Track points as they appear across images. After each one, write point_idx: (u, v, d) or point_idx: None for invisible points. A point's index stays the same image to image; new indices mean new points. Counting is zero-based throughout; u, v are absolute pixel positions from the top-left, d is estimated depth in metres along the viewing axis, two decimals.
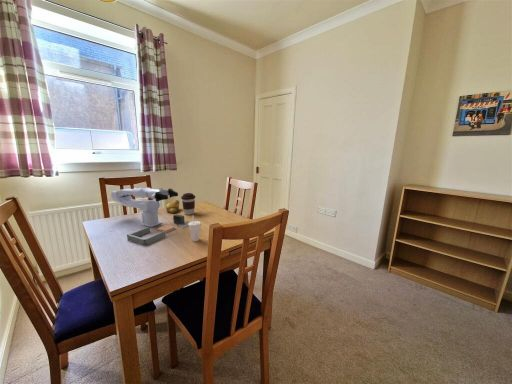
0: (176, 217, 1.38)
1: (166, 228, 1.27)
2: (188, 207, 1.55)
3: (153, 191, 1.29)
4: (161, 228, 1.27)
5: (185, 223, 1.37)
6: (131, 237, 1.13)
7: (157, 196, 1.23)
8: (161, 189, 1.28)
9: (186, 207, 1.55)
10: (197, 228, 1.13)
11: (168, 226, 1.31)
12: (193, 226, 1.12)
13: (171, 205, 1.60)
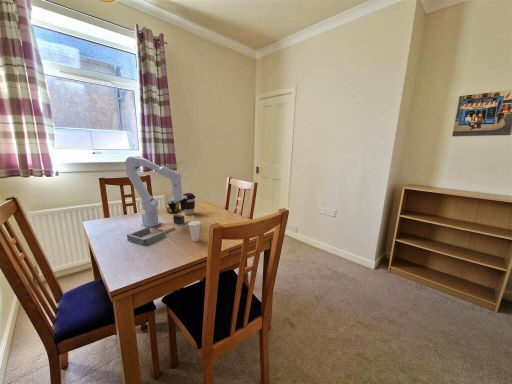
0: (176, 217, 1.38)
1: (166, 228, 1.27)
2: (188, 207, 1.55)
3: (177, 192, 1.33)
4: (161, 228, 1.27)
5: (185, 223, 1.37)
6: (131, 237, 1.13)
7: None
8: (181, 199, 1.35)
9: (186, 207, 1.55)
10: (197, 228, 1.13)
11: (168, 226, 1.31)
12: (193, 226, 1.12)
13: None
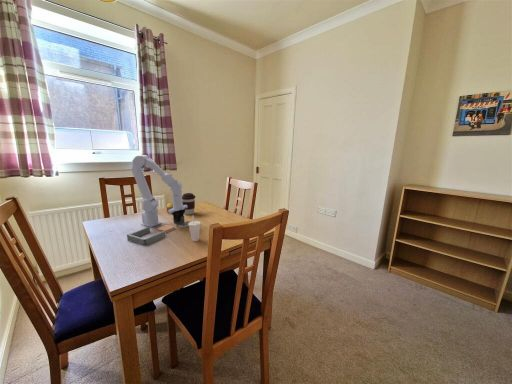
0: None
1: (166, 228, 1.27)
2: (188, 207, 1.55)
3: (177, 202, 1.34)
4: (161, 228, 1.27)
5: (185, 223, 1.37)
6: (131, 237, 1.13)
7: None
8: None
9: None
10: (197, 228, 1.13)
11: (168, 226, 1.31)
12: (193, 226, 1.12)
13: (171, 205, 1.60)
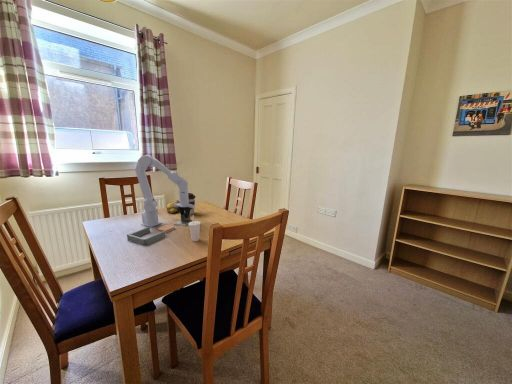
0: None
1: (166, 228, 1.27)
2: None
3: (179, 199, 1.38)
4: (161, 228, 1.27)
5: (181, 222, 1.38)
6: (131, 237, 1.13)
7: None
8: (181, 206, 1.38)
9: None
10: (197, 228, 1.13)
11: (168, 226, 1.31)
12: (193, 226, 1.12)
13: (171, 205, 1.59)
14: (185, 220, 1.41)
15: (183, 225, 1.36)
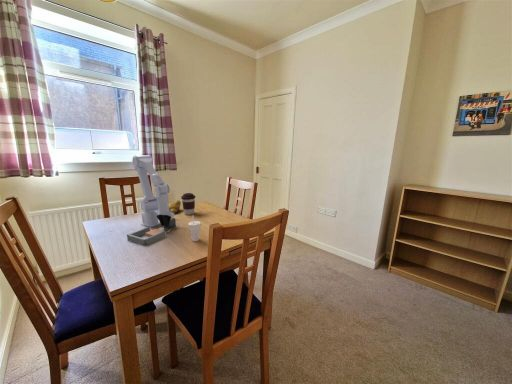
0: None
1: (155, 232, 1.21)
2: (188, 207, 1.55)
3: (158, 205, 1.25)
4: (150, 232, 1.20)
5: (163, 229, 1.27)
6: (131, 237, 1.13)
7: None
8: None
9: (186, 207, 1.55)
10: (197, 228, 1.13)
11: (157, 230, 1.24)
12: (193, 226, 1.12)
13: (171, 205, 1.59)
14: (168, 227, 1.29)
15: None
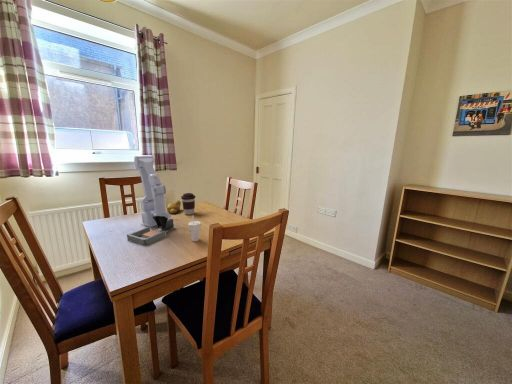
0: None
1: (152, 234, 1.19)
2: (188, 207, 1.55)
3: None
4: (147, 234, 1.19)
5: (160, 230, 1.25)
6: (131, 237, 1.13)
7: None
8: None
9: (186, 207, 1.55)
10: (197, 228, 1.13)
11: (155, 232, 1.22)
12: (193, 226, 1.12)
13: (171, 206, 1.59)
14: (166, 228, 1.27)
15: None
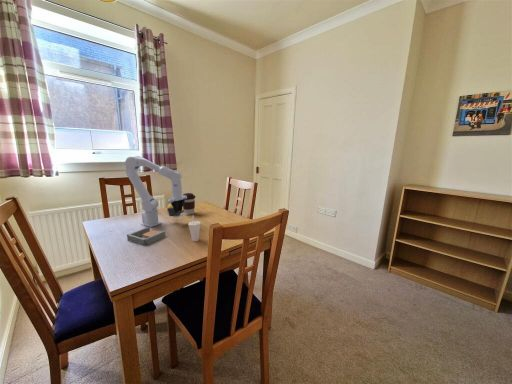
0: (171, 209, 1.39)
1: (152, 234, 1.19)
2: (188, 207, 1.55)
3: (176, 192, 1.33)
4: (147, 234, 1.19)
5: (180, 214, 1.38)
6: (131, 237, 1.13)
7: None
8: (181, 199, 1.35)
9: (186, 207, 1.55)
10: (197, 228, 1.13)
11: (154, 232, 1.22)
12: (193, 226, 1.12)
13: (171, 206, 1.58)
14: None
15: (186, 214, 1.39)
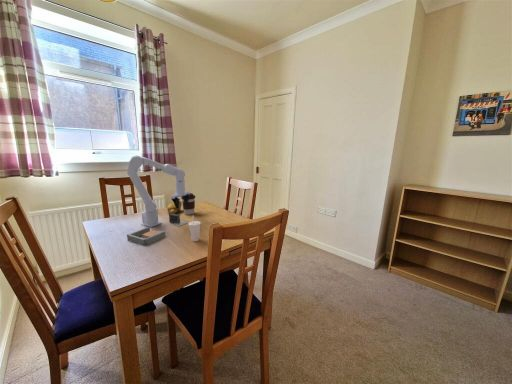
0: (172, 216, 1.40)
1: (152, 234, 1.19)
2: (188, 207, 1.55)
3: (180, 188, 1.39)
4: (147, 234, 1.19)
5: (181, 222, 1.39)
6: (131, 237, 1.13)
7: None
8: (184, 195, 1.41)
9: (186, 207, 1.55)
10: (197, 228, 1.13)
11: (154, 232, 1.22)
12: (193, 226, 1.12)
13: (172, 206, 1.58)
14: None
15: (186, 222, 1.41)
